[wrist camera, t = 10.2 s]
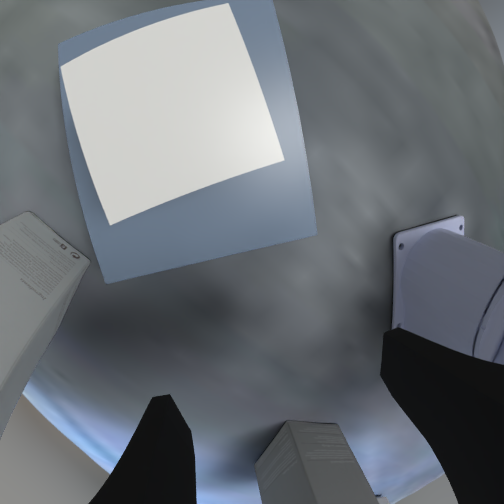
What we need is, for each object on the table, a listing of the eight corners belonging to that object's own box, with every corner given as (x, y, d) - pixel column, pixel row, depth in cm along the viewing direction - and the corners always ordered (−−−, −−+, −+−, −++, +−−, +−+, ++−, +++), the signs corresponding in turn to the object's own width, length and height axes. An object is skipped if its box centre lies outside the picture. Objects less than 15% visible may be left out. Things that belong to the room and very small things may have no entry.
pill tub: (250, 159, 13) (284, 160, 8) (143, 199, 13) (110, 225, 8) (216, 58, 11) (228, 3, 6) (109, 98, 11) (60, 66, 6)
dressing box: (293, 218, 19) (317, 234, 15) (123, 258, 17) (106, 284, 14) (256, 24, 14) (270, -5, 10) (83, 63, 13) (58, 43, 9)
